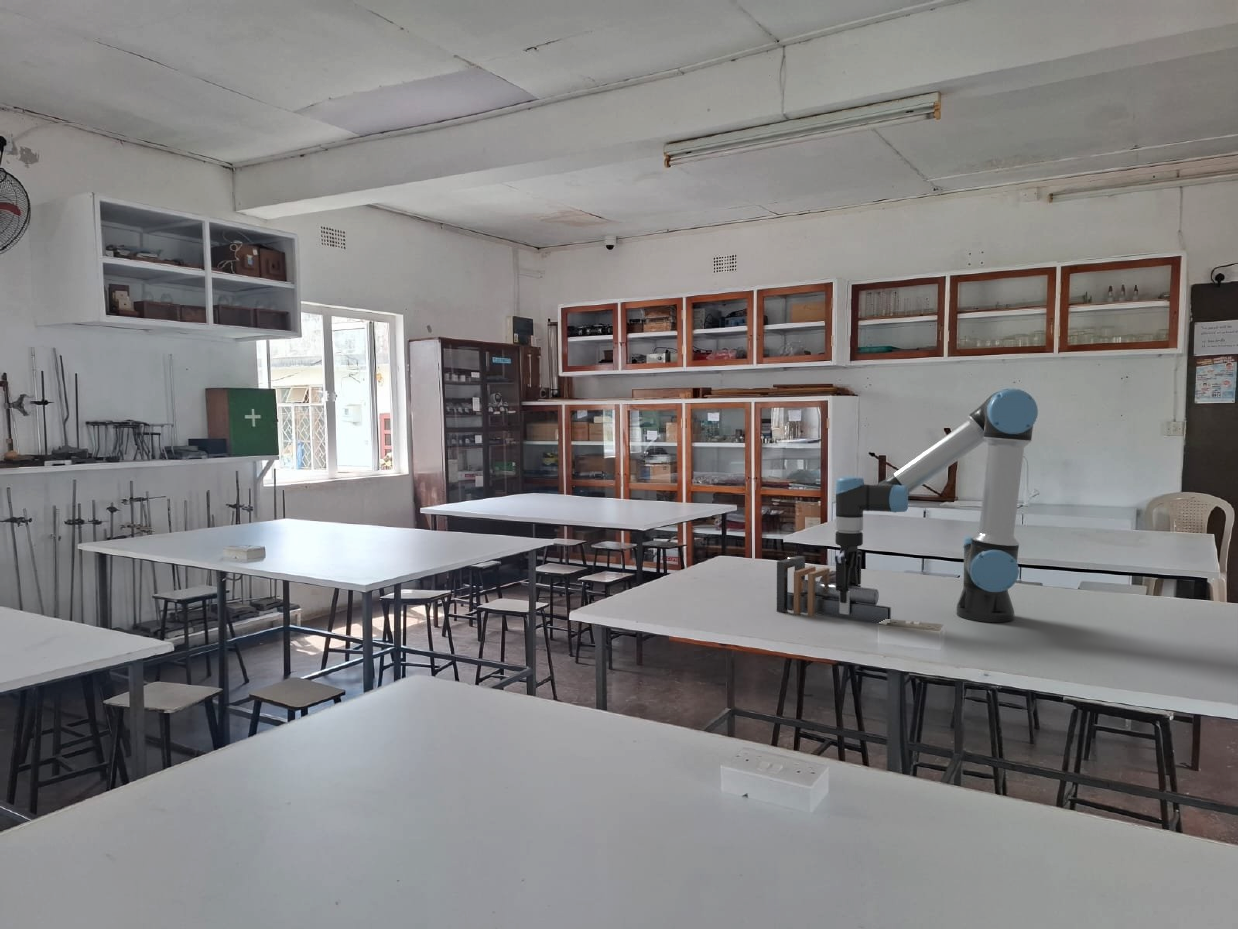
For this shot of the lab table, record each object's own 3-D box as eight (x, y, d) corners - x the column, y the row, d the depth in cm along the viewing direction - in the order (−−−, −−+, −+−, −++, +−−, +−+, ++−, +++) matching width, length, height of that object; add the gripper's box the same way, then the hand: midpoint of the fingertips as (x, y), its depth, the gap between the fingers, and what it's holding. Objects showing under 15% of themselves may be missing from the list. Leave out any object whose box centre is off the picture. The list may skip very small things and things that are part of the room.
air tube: (878, 603, 224) (878, 588, 223) (872, 606, 220) (872, 590, 220) (800, 592, 239) (801, 577, 239) (794, 594, 236) (794, 579, 235)
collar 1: (815, 607, 240) (815, 566, 239) (798, 614, 231) (798, 572, 231) (810, 606, 241) (811, 566, 240) (793, 613, 232) (793, 571, 232)
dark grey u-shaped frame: (804, 605, 243) (805, 555, 242) (784, 613, 233) (784, 561, 232) (797, 604, 245) (797, 554, 244) (776, 611, 235) (776, 560, 234)
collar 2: (829, 609, 237) (829, 568, 236) (812, 616, 229) (812, 573, 228) (824, 609, 238) (824, 567, 237) (807, 616, 230) (807, 573, 229)
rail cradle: (890, 623, 221) (890, 607, 221) (886, 625, 219) (886, 609, 218) (787, 606, 241) (787, 592, 241) (782, 608, 239) (782, 593, 239)
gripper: (849, 526, 235) (848, 604, 236) (823, 533, 222) (822, 615, 223) (874, 529, 230) (872, 608, 231) (848, 535, 217) (847, 620, 218)
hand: (848, 611), depth 227 cm, fingers closed on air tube, 4 cm apart
